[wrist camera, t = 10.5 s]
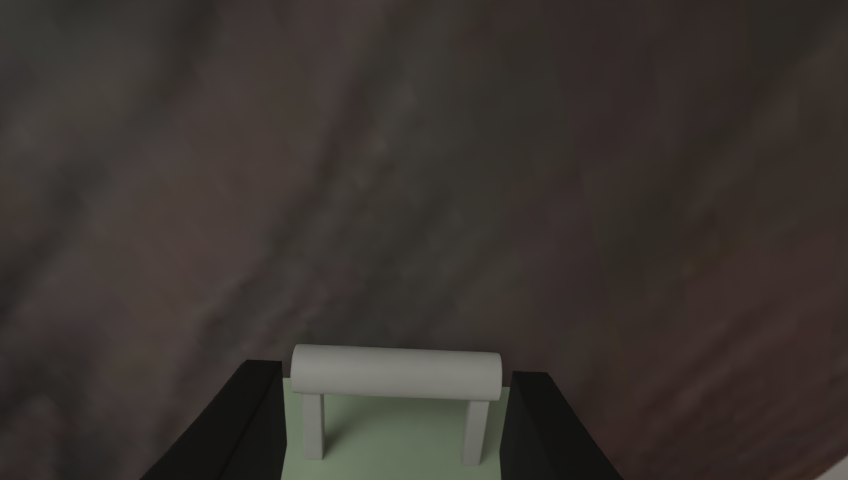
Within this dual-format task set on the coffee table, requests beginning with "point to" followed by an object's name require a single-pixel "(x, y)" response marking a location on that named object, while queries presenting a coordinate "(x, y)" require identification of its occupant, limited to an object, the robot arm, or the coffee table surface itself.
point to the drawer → (393, 414)
